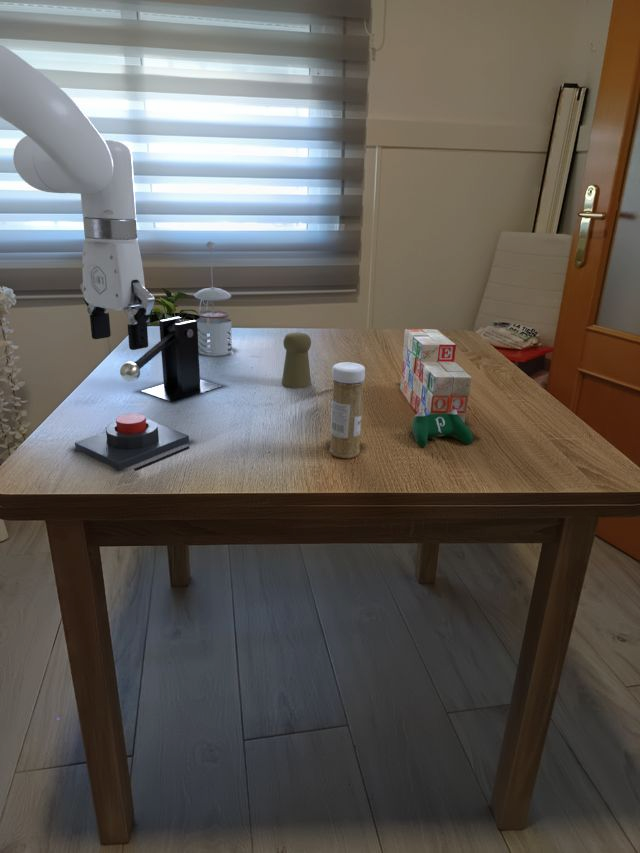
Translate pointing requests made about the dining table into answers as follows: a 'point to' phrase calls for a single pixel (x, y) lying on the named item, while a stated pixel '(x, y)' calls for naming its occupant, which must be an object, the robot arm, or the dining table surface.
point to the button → (131, 423)
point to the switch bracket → (180, 364)
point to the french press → (213, 321)
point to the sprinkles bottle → (346, 409)
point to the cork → (296, 361)
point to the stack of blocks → (433, 374)
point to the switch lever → (147, 356)
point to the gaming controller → (440, 427)
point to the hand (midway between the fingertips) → (119, 343)
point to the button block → (132, 445)
